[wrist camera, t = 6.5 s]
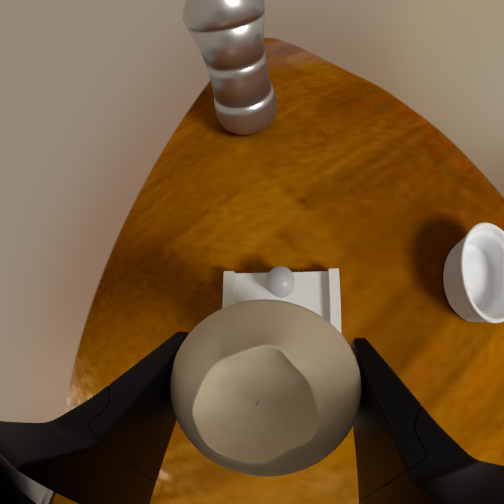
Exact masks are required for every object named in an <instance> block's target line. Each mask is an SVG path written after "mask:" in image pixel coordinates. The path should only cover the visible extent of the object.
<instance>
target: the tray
mask: <svg viewBox="0 0 504 504" xmlns="http://www.w3.org/2000/svg"><path fill="white" fill-rule="evenodd" d="M260 299H269V300H280V301H285V302H290V303H293V304H296V305H300V306H303V307H305V308H307V309H309V310H311V311H313V312H315V313H317V314H318V315H320V316H321V317H323V318H324V319H326V320H327V321H328V322H329V323H330V324H332V325H333V326H334V327H335V328H336V329H337V330H338V331H339V332H340V333H341V303H340V281H339V268H338V269H328V271H317V272H291V270H289V269H288V268H286V267H283V266H278V267H275V268H273V269H272V270H271V271H270V272H269V273H235V272H234V271H224V275H223V303H222V308H224V307H226V306H229V305H232V304H235V303H239V302H244V301H249V300H260Z"/></svg>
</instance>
